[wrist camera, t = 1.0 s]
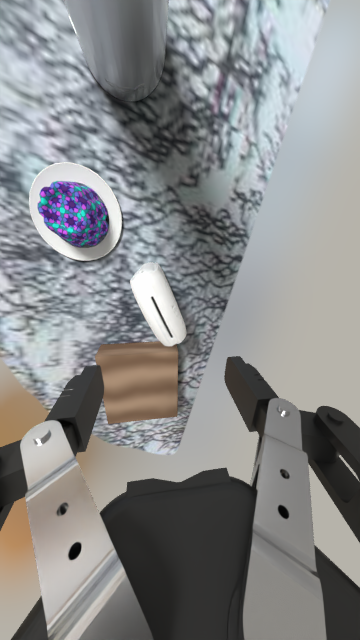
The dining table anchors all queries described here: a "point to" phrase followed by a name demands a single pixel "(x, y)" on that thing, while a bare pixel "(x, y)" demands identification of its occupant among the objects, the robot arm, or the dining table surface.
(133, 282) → the photo printer
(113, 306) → the dining table surface
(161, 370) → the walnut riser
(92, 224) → the pudding
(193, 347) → the dining table surface
